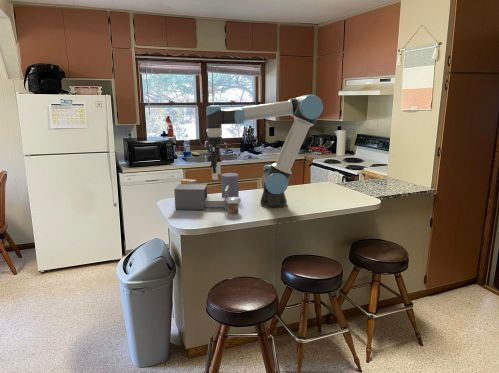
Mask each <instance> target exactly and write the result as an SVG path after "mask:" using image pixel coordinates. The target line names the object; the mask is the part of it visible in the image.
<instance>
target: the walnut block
mask: <svg viewBox="0 0 499 373" xmlns="http://www.w3.org/2000/svg"><path fill="white" fill-rule="evenodd" d="M227 214H228V215H229V214H230V215H238V214H239V203H237V204H229V203H228V210H227Z"/></svg>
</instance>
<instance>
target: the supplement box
mask: <svg viewBox="0 0 499 373" xmlns="http://www.w3.org/2000/svg"><path fill="white" fill-rule="evenodd" d="M180 184H197V179H190V178H183V179H180Z"/></svg>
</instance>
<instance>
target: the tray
mask: <svg viewBox="0 0 499 373" xmlns="http://www.w3.org/2000/svg"><path fill="white" fill-rule="evenodd" d="M228 197H229V186H226V189H225V198H222V197H210V196H207V198H204V202H205V207H206V208H224V211H228V203H226V198H228Z"/></svg>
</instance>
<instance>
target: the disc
mask: <svg viewBox="0 0 499 373" xmlns="http://www.w3.org/2000/svg"><path fill="white" fill-rule="evenodd" d="M226 203H229V204H237V203H238V204H240V203H241V198H240V196H239V197H228V198H226Z"/></svg>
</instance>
